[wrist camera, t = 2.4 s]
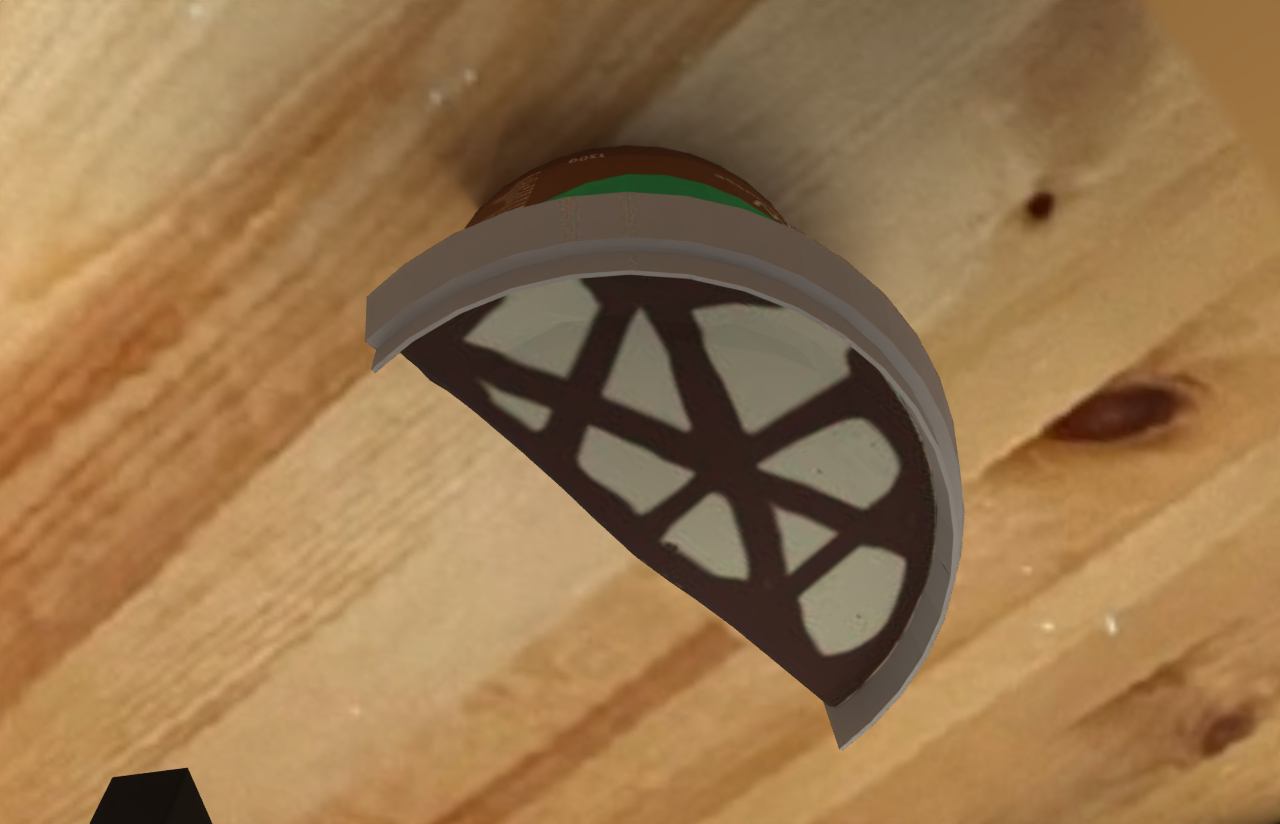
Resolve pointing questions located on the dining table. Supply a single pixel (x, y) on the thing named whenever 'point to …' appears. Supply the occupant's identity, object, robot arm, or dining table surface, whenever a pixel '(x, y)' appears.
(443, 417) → the dining table surface
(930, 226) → the dining table surface
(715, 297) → the food container
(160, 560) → the dining table surface
